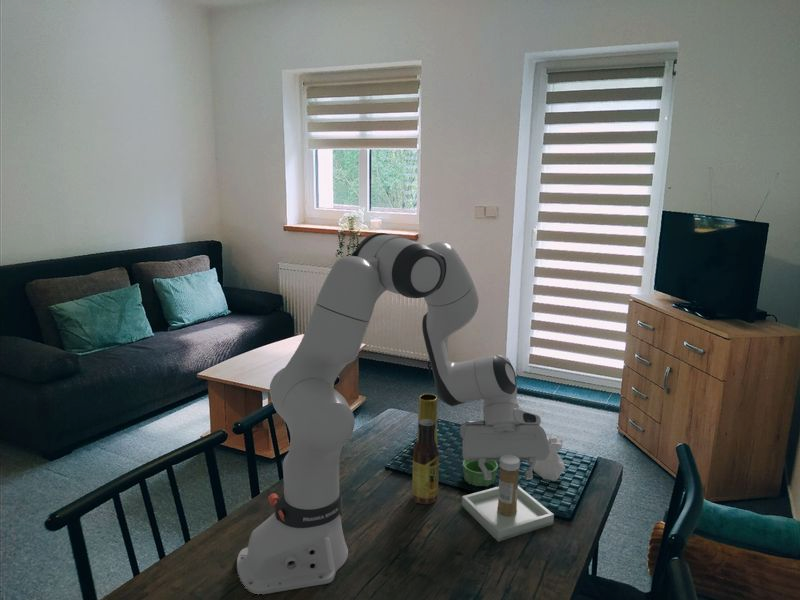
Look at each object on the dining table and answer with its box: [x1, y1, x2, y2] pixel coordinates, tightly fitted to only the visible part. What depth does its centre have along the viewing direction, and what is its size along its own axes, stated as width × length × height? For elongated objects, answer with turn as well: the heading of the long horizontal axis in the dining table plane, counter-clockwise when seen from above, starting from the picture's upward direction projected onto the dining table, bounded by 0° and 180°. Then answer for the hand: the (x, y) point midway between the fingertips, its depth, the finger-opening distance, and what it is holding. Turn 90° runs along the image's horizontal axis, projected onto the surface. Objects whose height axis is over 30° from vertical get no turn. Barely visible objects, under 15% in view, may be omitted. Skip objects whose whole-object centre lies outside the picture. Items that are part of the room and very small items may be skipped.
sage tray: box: [461, 485, 555, 542], centre depth 138 cm, size 15×15×2 cm
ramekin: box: [462, 459, 499, 487], centre depth 153 cm, size 9×9×4 cm
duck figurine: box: [529, 435, 566, 482], centre depth 156 cm, size 12×8×11 cm
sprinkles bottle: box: [497, 455, 521, 516], centre depth 137 cm, size 5×5×14 cm
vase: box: [416, 393, 439, 445], centre depth 171 cm, size 6×6×14 cm
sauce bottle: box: [411, 419, 440, 505], centre depth 143 cm, size 7×6×20 cm
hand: (508, 479), depth 136 cm, fingers open, 8 cm apart
